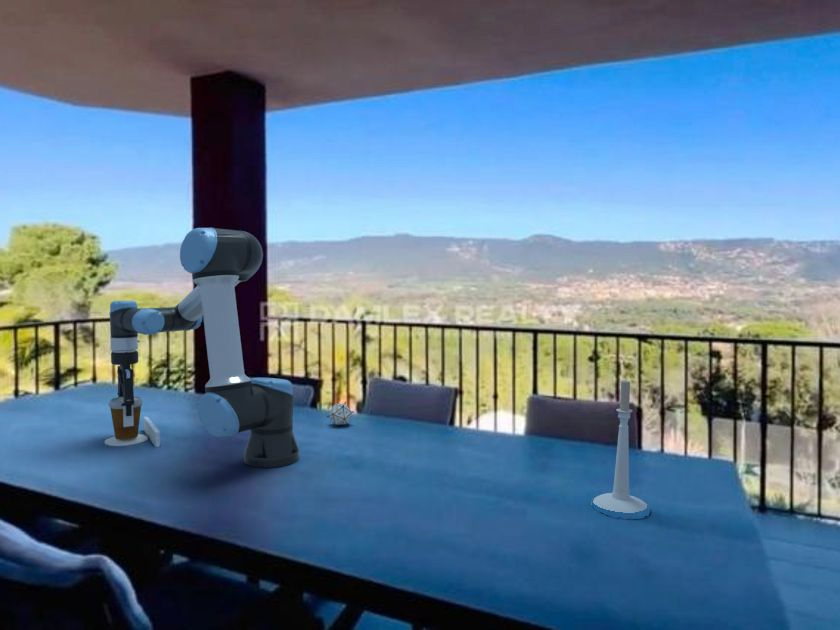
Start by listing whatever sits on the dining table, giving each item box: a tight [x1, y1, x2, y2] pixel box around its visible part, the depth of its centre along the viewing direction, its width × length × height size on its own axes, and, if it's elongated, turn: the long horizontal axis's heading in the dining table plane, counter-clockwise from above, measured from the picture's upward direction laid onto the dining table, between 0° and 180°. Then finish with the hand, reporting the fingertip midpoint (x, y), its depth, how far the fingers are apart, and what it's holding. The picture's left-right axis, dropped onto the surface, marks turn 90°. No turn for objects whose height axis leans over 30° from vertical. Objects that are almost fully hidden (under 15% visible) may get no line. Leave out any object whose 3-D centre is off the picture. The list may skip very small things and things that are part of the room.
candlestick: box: [592, 380, 648, 513], centre depth 134 cm, size 13×13×30 cm
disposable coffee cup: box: [108, 395, 144, 440], centre depth 183 cm, size 10×10×12 cm
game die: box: [326, 401, 355, 428], centre depth 205 cm, size 9×8×10 cm
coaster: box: [104, 433, 149, 447], centre depth 183 cm, size 12×12×1 cm
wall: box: [143, 416, 161, 448], centre depth 186 cm, size 22×1×4 cm, turn 34°
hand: (126, 422), depth 183 cm, fingers closed on disposable coffee cup, 9 cm apart
